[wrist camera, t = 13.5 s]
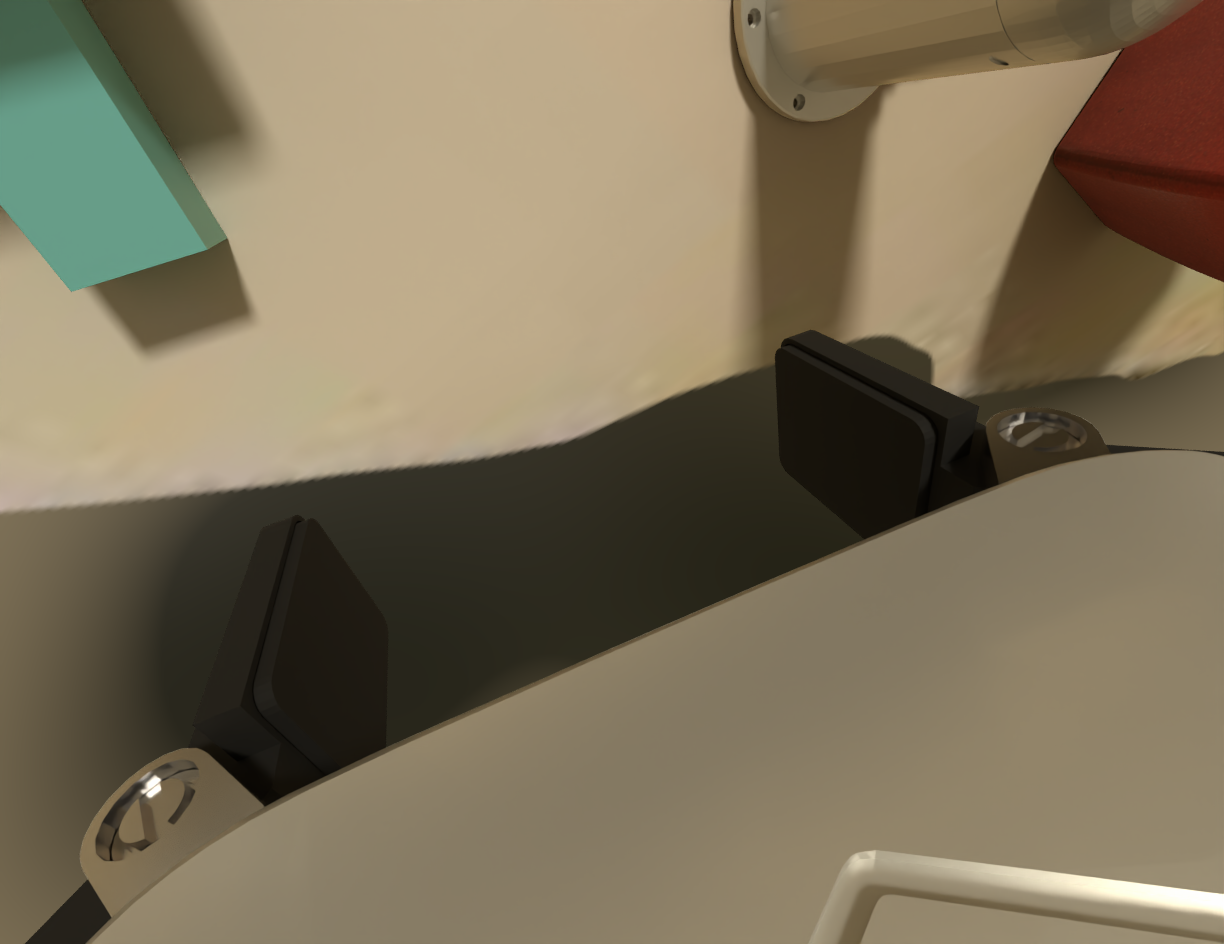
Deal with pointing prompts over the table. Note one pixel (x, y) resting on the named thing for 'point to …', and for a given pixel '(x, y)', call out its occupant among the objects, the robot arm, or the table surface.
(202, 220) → the teal flat plank
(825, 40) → the robot arm
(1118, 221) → the plant pot
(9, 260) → the table surface
